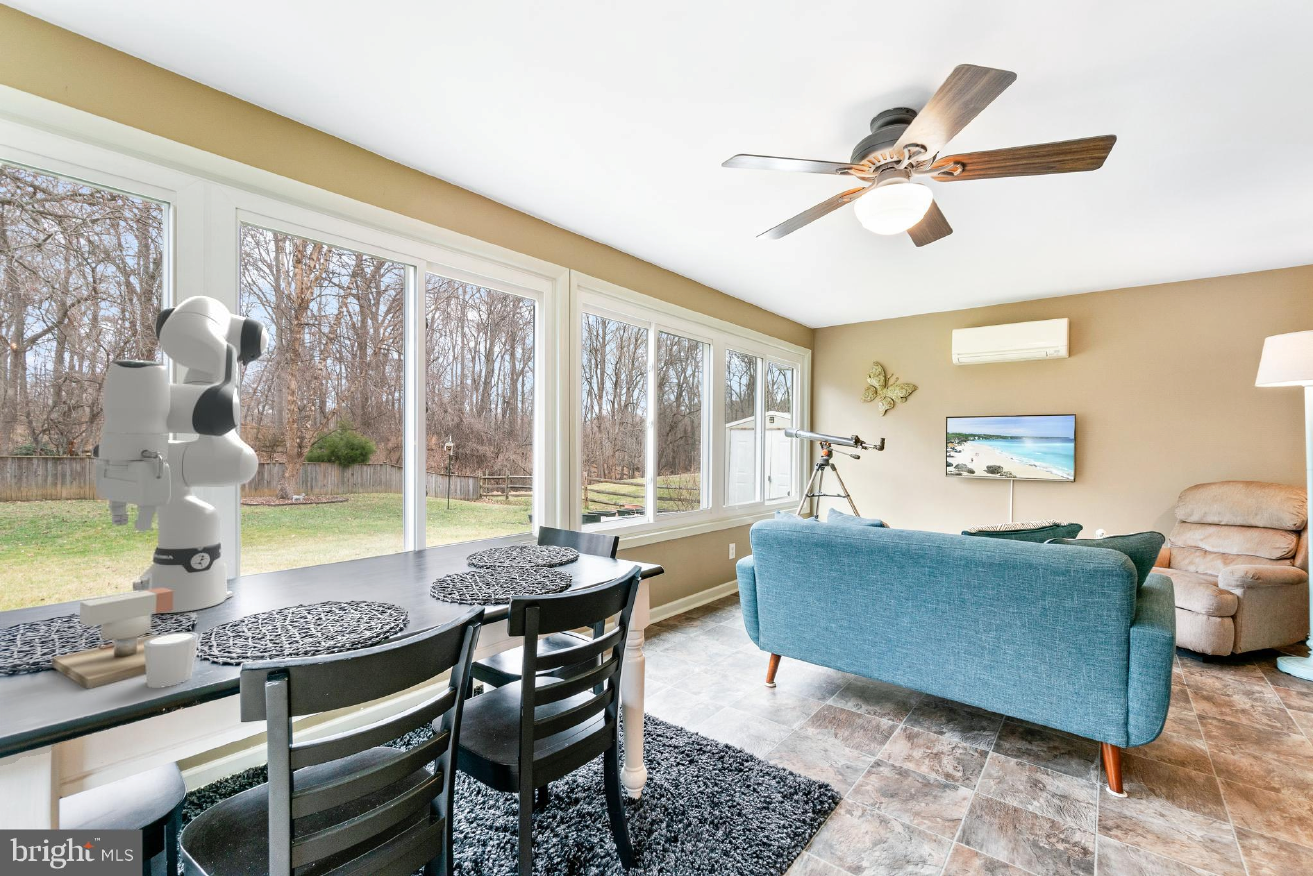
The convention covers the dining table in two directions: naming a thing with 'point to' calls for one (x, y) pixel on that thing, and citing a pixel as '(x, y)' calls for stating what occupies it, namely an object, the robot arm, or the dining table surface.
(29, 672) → the dining table surface
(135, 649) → the post
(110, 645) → the base plate
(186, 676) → the white tapered cup
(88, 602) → the orange-ended white bar
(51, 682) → the dining table surface
